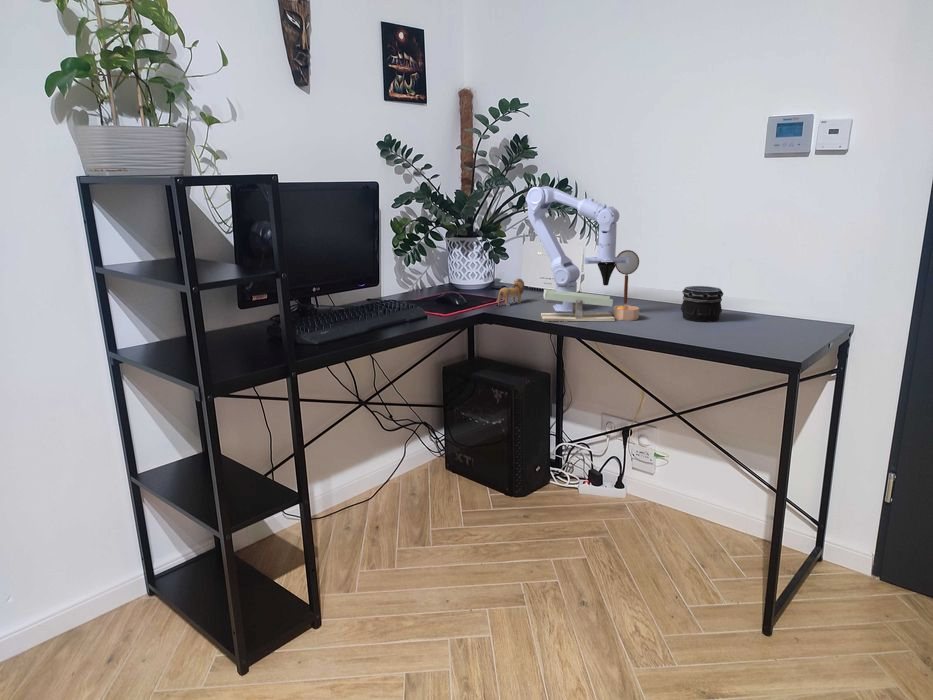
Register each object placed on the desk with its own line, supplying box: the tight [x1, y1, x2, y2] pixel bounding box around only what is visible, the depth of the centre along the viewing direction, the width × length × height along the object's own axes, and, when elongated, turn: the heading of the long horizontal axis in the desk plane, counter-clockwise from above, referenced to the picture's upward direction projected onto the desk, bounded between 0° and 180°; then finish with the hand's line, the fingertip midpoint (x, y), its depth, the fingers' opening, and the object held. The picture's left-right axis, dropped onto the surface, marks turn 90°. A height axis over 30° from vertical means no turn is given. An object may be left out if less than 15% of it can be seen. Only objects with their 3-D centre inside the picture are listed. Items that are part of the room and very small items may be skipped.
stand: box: [540, 300, 616, 323], centre depth 218 cm, size 11×23×7 cm, turn 88°
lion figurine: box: [496, 278, 525, 307], centre depth 244 cm, size 15×5×9 cm, turn 140°
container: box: [680, 285, 724, 323], centre depth 215 cm, size 13×13×10 cm
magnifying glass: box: [615, 249, 640, 305], centre depth 236 cm, size 9×2×20 cm, turn 93°
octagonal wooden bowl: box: [612, 304, 640, 322], centre depth 218 cm, size 8×8×4 cm
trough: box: [542, 288, 614, 308], centre depth 221 cm, size 12×23×4 cm, turn 88°
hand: (605, 285), depth 224 cm, fingers closed
